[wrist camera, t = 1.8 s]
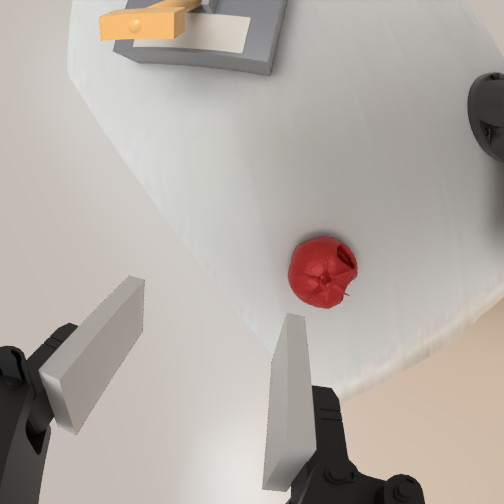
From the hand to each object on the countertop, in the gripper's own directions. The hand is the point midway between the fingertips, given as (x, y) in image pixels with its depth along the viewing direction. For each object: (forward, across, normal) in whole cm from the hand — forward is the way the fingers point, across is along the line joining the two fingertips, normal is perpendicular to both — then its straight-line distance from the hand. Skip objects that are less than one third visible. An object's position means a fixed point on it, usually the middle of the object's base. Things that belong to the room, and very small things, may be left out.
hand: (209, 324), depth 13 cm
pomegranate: (+33, +11, -8) cm, 36 cm away
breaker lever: (+24, -12, +25) cm, 37 cm away
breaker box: (+33, -12, +24) cm, 42 cm away
